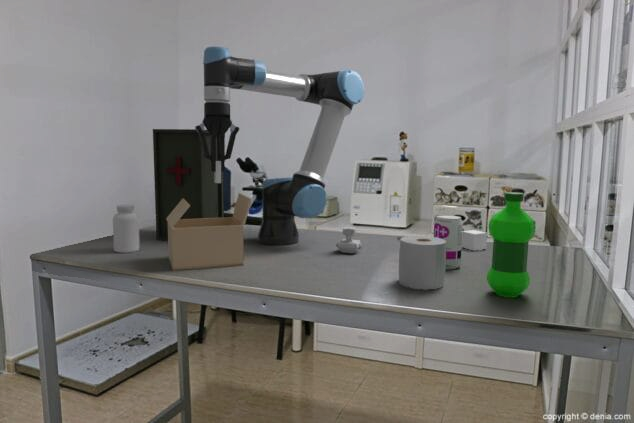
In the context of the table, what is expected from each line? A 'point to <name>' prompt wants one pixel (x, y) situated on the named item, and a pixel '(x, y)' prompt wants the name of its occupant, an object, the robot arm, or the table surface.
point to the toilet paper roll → (422, 262)
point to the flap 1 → (177, 213)
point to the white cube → (474, 240)
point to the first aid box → (184, 177)
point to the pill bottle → (126, 229)
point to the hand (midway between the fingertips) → (217, 182)
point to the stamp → (349, 241)
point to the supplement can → (450, 238)
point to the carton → (205, 243)
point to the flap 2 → (242, 208)
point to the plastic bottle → (510, 247)
